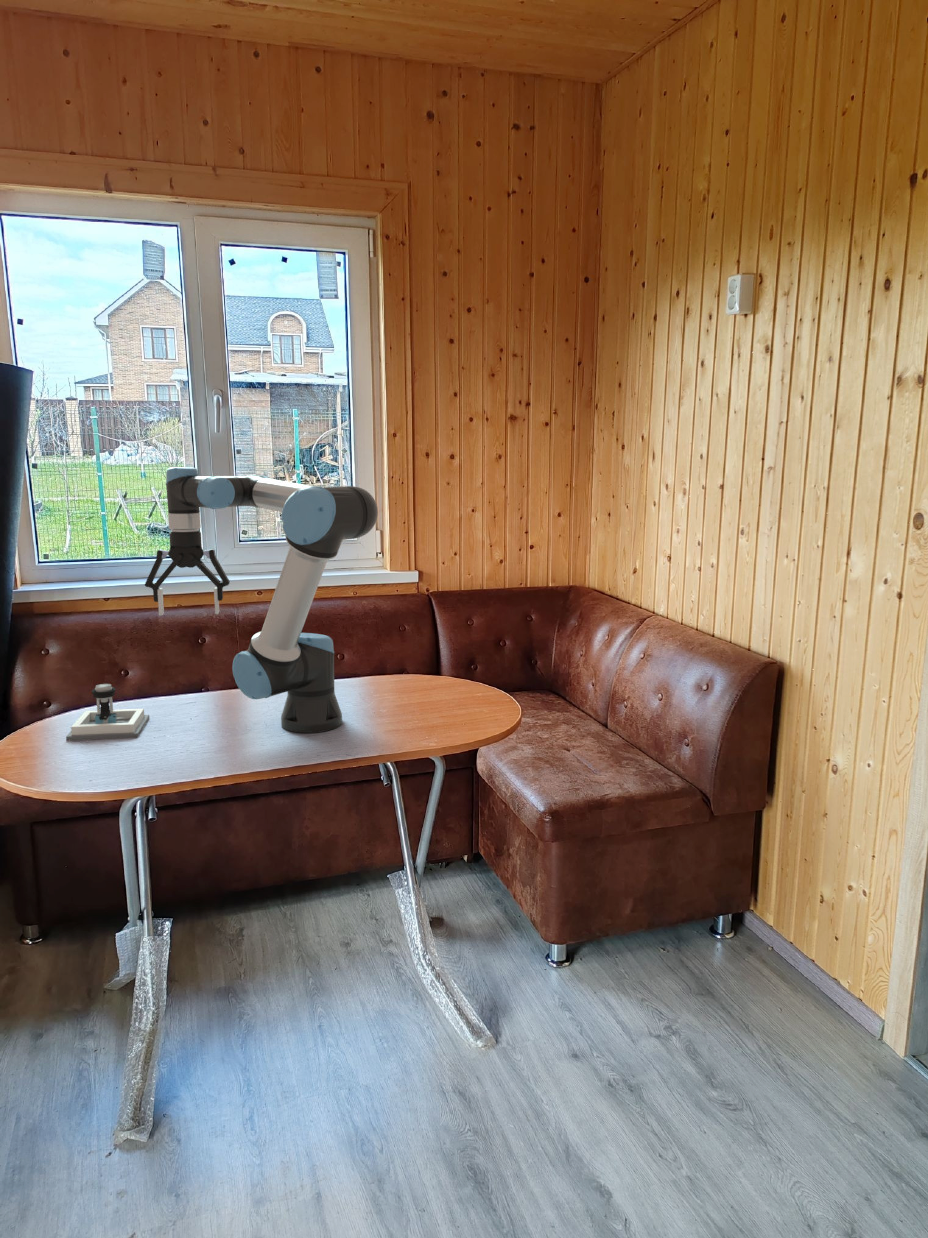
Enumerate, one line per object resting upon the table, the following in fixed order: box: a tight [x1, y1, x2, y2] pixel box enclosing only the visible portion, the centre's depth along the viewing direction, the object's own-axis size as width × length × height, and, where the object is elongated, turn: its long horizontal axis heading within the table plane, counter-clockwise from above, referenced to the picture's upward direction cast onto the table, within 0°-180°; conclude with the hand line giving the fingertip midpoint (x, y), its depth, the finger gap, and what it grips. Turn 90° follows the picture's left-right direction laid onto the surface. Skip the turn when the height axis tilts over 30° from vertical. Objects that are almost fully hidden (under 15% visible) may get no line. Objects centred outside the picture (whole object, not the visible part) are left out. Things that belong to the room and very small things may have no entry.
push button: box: [91, 683, 124, 724], centre depth 207 cm, size 7×5×10 cm
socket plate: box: [65, 708, 150, 742], centre depth 207 cm, size 16×15×3 cm
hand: (189, 614), depth 215 cm, fingers open, 13 cm apart
